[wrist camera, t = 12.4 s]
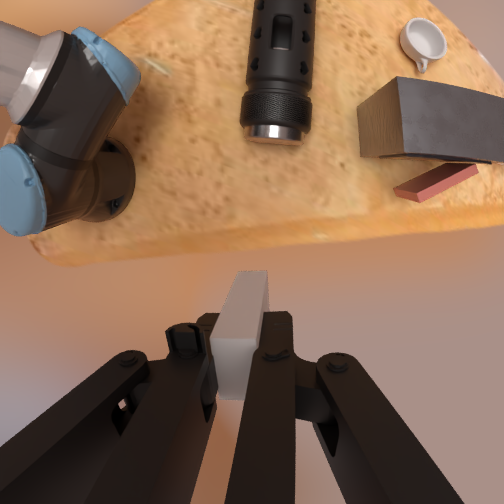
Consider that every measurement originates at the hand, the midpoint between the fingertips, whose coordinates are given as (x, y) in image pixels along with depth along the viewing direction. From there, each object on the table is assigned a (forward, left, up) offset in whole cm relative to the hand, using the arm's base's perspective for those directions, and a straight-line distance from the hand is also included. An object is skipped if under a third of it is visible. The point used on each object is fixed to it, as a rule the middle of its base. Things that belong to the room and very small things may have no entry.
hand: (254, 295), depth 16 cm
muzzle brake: (+3, +24, -33) cm, 41 cm away
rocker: (+22, +5, -26) cm, 35 cm away
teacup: (+26, +27, -33) cm, 50 cm away
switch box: (+22, +12, -32) cm, 41 cm away
